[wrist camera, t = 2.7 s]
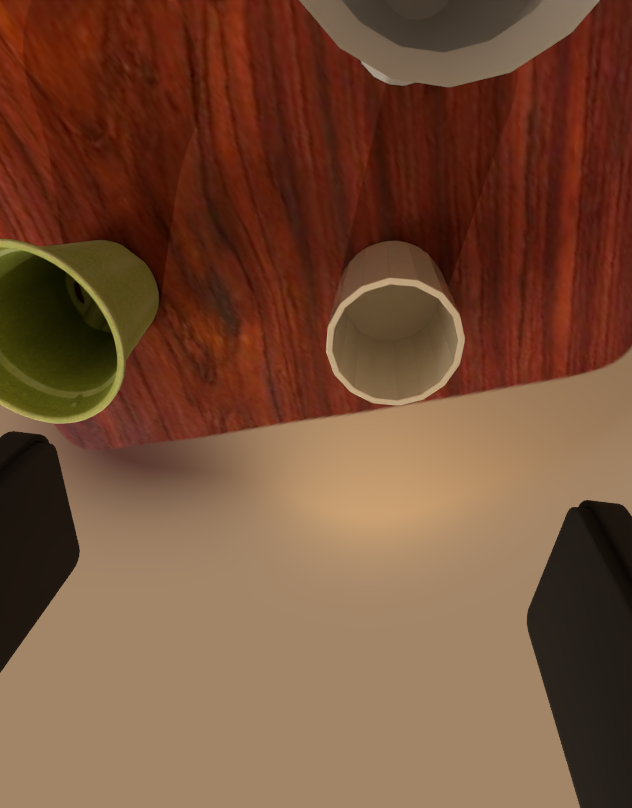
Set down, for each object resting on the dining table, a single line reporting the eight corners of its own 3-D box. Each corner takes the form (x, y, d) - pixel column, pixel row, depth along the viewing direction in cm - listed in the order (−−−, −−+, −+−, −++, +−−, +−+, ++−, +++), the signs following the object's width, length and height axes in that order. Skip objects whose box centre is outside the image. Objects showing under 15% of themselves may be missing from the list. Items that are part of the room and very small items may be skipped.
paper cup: (343, 236, 28) (331, 272, 21) (452, 245, 28) (477, 284, 21) (334, 337, 31) (322, 398, 24) (433, 346, 31) (449, 411, 24)
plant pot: (75, 363, 34) (-10, 430, 27) (14, 222, 30) (-108, 255, 22) (202, 349, 33) (149, 416, 25) (157, 198, 28) (77, 224, 21)
